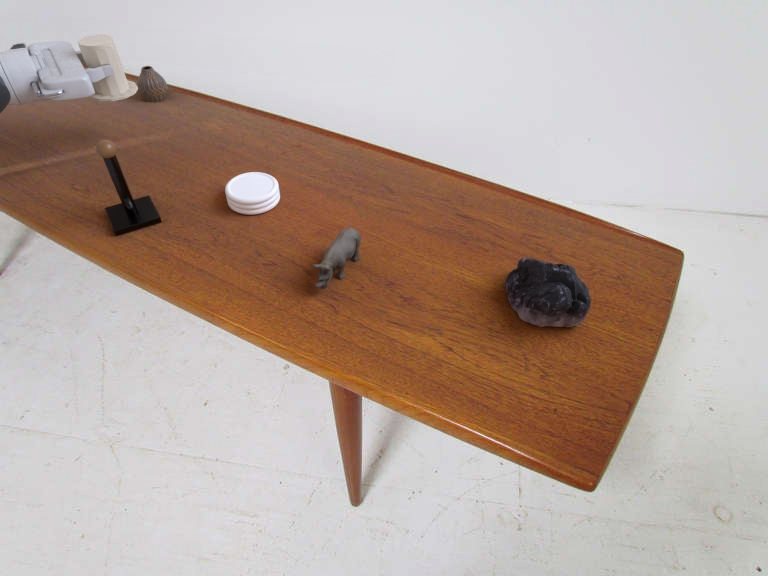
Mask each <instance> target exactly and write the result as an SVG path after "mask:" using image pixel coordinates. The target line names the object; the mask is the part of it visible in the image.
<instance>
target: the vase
mask: <svg viewBox="0 0 768 576" xmlns="http://www.w3.org/2000/svg"><path fill="white" fill-rule="evenodd" d="M136 85H137V87H138V90H137V92H138V94H139V96H140V98H141V100H142V101H143V102H146V103H158V102H163V101H165V100H167V99H168V98H170V90H169V86H168V83H167V82H166V80H165V78H164V77H163V76H162V75H161V74H160V73H159V72H157V70H155V69H154V68H153V66H151V65H145V66H142V67H141V69H140V73H139V75H138V78H137V83H136Z"/></svg>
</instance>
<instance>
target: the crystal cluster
mask: <svg viewBox="0 0 768 576" xmlns="http://www.w3.org/2000/svg"><path fill="white" fill-rule="evenodd" d="M503 288H504V290H505V292H506V293H507V300H508V303H509V305H510V307H511V308H512V310H513V311H514V312H516V313H517V315H518V317H519V319H520V320H522V321H523V322H526V323H529V324H531V325H534V326H536V327H540V328H543V327H556V328H563V327H564V328H573V327H576V326H578V325H581V324H582V323H584V321H585V319H586V317H587V315H588V313H589V311H590V309H591V304H592V298H591V294H590V289H589V288H588V286H587V285H586V283H585V282H584V281H582V280H581V278H580V277H579V276H578V274H577V271H576V268H575V267H573V266H572V265H567V264H564V263H552V262H548V261H542V260H538V259H536V258H532V257H522V258H521V259H519V260H518V261H517V266H516V267H515V268H514V269H512V270H511V271H509V273H508V274H507V276H506V277H505V281H504V284H503Z"/></svg>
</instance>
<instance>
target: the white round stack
mask: <svg viewBox="0 0 768 576" xmlns="http://www.w3.org/2000/svg"><path fill="white" fill-rule="evenodd" d="M279 185H280V184H279V182H278V180H277V178H275V177H274V176H272V175H271V174H268V173H265V172H260V171H251V172H250V171H249V172H245V173H244V172H243V173H240V174H238V175H235V176H234V177H232V178H231V179H229V181H228V182H227V183H226V185H225V187H224V193H225V196H226V197H225V198H226V201H227V205H228V207H229V208H230V209H231V210H232V211H233V212H236V213H238V214H241V215H247V216H253V215H261V214H265V213H267V212H269V211H270V210H272V209H274V208H275V207H276V206H277V205H278V204H279V203H280V200H281V193H280V186H279Z"/></svg>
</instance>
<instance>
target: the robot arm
mask: <svg viewBox="0 0 768 576" xmlns="http://www.w3.org/2000/svg"><path fill="white" fill-rule="evenodd" d="M71 43H72V42H69V41H63V40H55V41H44V42H36V43H31V44H29V45H27V44H26V43H25V42H16V43H13V44H12V45H11V47H10V48H9V49H7V50H5V51H0V114H1V113H2V112H3V111H4V110H5V109H6V108H7V107H8V106H23V105H28V104H33V103H38V102H43V101H49V100H50V101H53V102H65V101H73V100H80V99H87V98H90V96H92V95H94V94H95V91H94V88H93V85H94V84H93V82H98V81H100V80H101V79H103V78H105V77H108V76H113V75H114V70H113V68H112V66H111V65H110V64H103V65H100V67H97V68H94V69H92V68H87V67H86V68H85V67H84V65H86V63H85V61H84V58H83V55H82V53H81V50H75V48H74V46H73V45H72V44H71Z"/></svg>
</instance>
